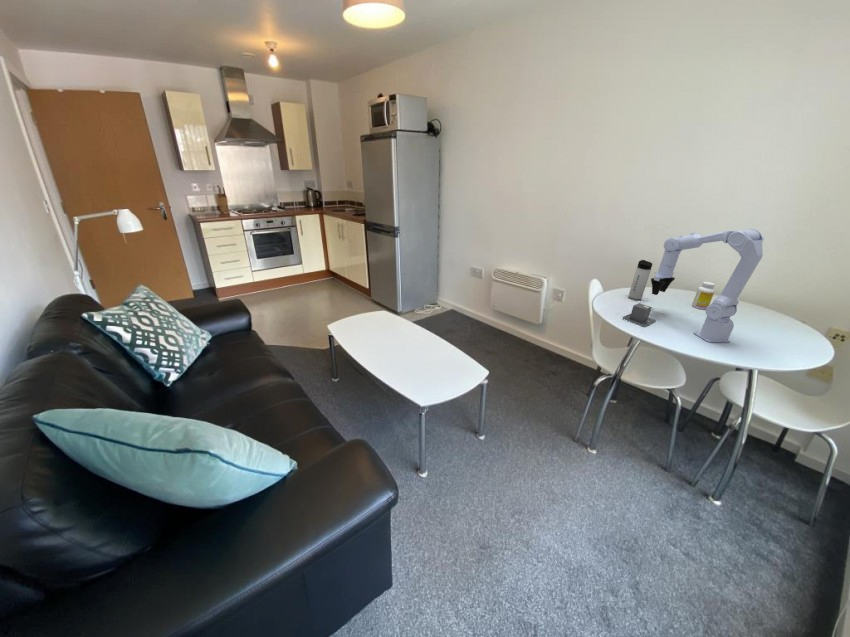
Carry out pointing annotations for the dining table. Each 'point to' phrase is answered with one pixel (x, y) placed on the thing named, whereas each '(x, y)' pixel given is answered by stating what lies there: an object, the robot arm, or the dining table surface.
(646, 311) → the grey cube with tab
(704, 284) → the supplement bottle
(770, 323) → the dining table surface
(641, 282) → the travel mug
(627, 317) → the plate
